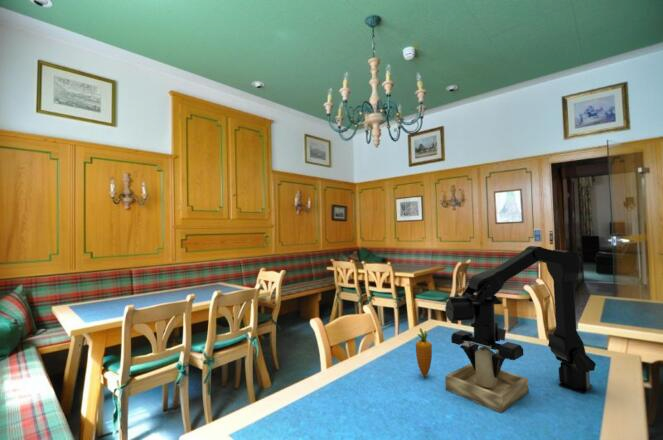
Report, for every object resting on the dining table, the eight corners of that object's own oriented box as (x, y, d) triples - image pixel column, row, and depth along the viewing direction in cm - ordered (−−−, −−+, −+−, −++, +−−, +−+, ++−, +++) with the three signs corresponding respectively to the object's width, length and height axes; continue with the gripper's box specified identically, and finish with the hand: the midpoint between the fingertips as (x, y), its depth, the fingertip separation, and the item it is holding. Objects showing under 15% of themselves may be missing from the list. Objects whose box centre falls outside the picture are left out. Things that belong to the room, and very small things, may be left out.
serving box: (528, 392, 94) (528, 378, 94) (501, 413, 84) (500, 397, 84) (475, 373, 106) (474, 361, 106) (445, 389, 97) (445, 375, 97)
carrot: (433, 381, 102) (432, 332, 103) (417, 379, 103) (415, 331, 104) (432, 374, 107) (430, 327, 107) (416, 373, 108) (414, 326, 108)
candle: (500, 387, 92) (499, 351, 93) (481, 388, 93) (479, 352, 93) (491, 378, 98) (490, 344, 98) (473, 379, 98) (471, 345, 98)
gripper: (530, 320, 93) (533, 376, 93) (469, 308, 108) (471, 357, 108) (512, 328, 86) (515, 389, 86) (449, 315, 101) (451, 366, 101)
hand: (486, 373), depth 95 cm, fingers closed on candle, 5 cm apart
